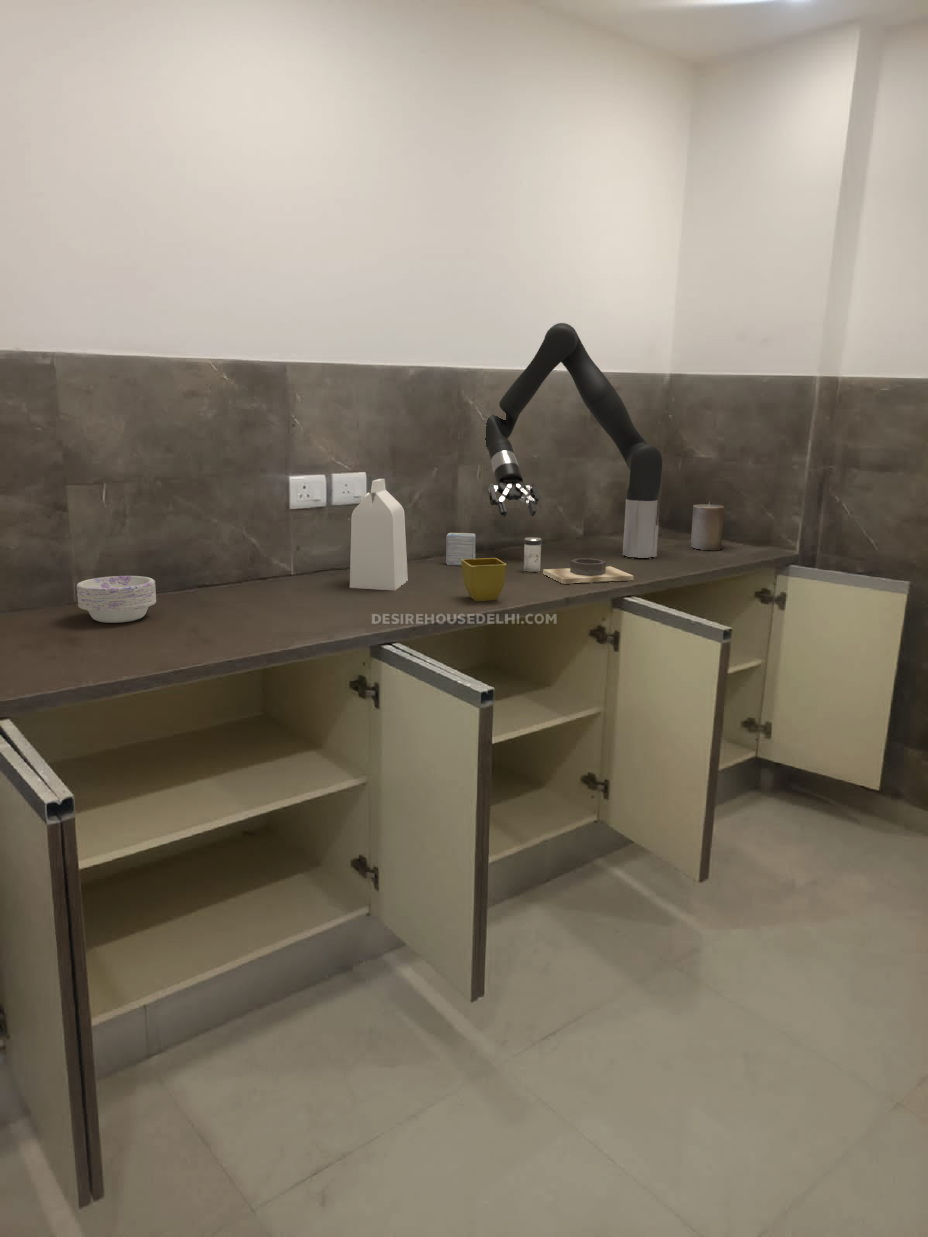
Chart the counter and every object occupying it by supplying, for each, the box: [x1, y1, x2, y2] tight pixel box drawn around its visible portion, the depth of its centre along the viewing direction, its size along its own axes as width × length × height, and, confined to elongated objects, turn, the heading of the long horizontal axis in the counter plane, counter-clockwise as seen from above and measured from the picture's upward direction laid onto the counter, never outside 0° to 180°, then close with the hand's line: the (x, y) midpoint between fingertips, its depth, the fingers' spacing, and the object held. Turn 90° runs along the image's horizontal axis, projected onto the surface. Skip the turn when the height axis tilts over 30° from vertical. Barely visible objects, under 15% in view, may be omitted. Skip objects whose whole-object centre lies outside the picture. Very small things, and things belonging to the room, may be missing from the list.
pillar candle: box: [690, 501, 725, 552], centre depth 281 cm, size 10×10×15 cm
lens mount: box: [542, 557, 634, 584], centre depth 233 cm, size 20×13×4 cm, turn 108°
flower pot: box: [461, 557, 508, 602], centre depth 206 cm, size 9×9×9 cm
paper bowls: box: [76, 575, 157, 624], centre depth 183 cm, size 15×15×8 cm
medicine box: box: [445, 532, 477, 566], centre depth 248 cm, size 8×4×9 cm, turn 84°
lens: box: [523, 536, 542, 572], centre depth 240 cm, size 5×5×9 cm
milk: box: [349, 478, 409, 591], centre depth 218 cm, size 12×12×26 cm
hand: (519, 514), depth 248 cm, fingers open, 8 cm apart
